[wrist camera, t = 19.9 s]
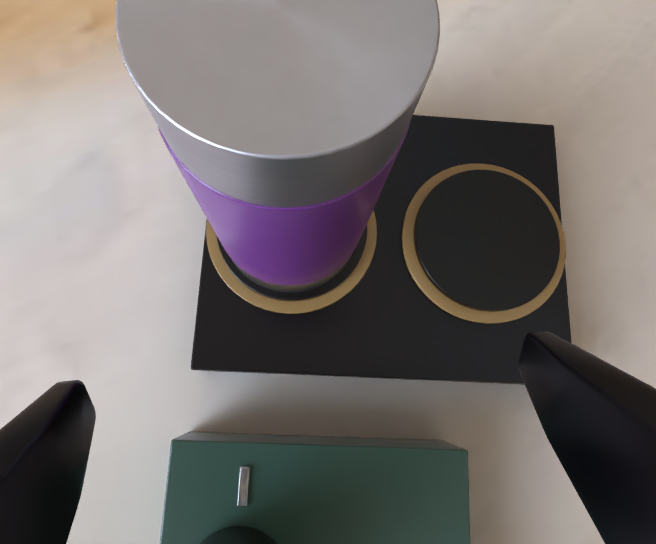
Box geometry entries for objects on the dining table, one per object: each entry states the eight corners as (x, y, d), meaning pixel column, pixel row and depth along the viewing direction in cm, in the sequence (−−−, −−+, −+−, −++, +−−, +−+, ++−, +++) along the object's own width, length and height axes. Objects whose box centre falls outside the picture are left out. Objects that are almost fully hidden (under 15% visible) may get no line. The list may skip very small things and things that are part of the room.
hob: (549, 385, 23) (585, 386, 20) (200, 370, 22) (186, 369, 19) (533, 145, 26) (562, 117, 23) (225, 124, 25) (216, 91, 22)
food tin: (384, 214, 21) (502, -12, 9) (306, 322, 20) (319, 229, 8) (277, 140, 22) (250, -167, 9) (194, 241, 20) (37, 32, 8)
